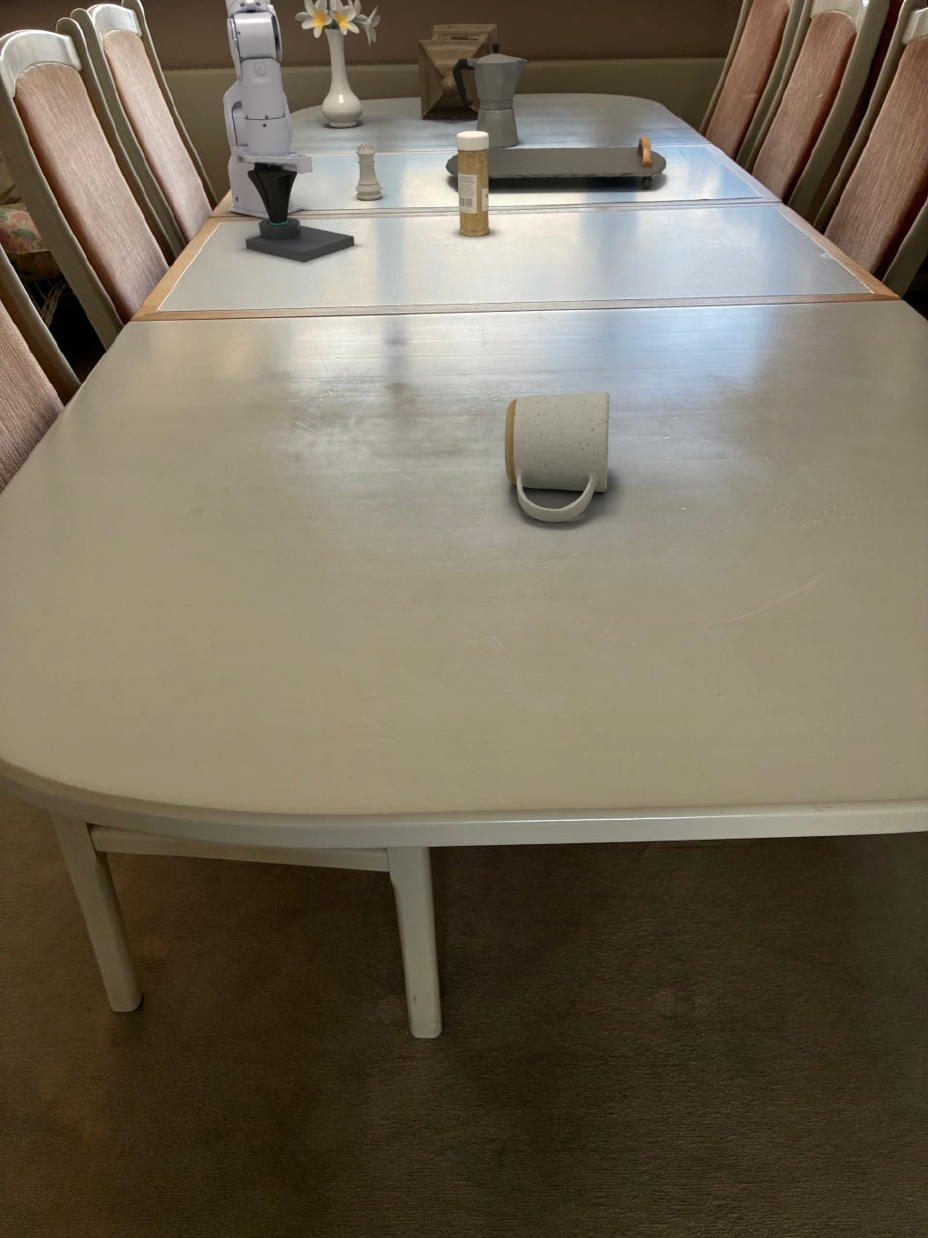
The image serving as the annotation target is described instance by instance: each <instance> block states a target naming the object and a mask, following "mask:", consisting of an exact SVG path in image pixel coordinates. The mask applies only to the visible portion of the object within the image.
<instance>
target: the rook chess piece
mask: <svg viewBox="0 0 928 1238" xmlns="http://www.w3.org/2000/svg"><path fill="white" fill-rule="evenodd" d="M355 154H356V155H357V156H358V161H357V163H358V165H359V178H358V182H357V185H356V187H355V190H356V192H357V193H356V194H355V196H356V197H357V199H358V200H360V201H376V200H378V199H381V197H382V196H383V193H382V192H381V191H382V186H381V185H380V183H379V180H378V179H377V175H376V170H375V162H376V161H375V159H374V156H375V154H376V150H375V149H374V145H373V144H368V143H365V146H364V144H359V145H357V149H356V151H355Z"/></svg>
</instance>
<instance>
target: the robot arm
mask: <svg viewBox="0 0 928 1238" xmlns="http://www.w3.org/2000/svg"><path fill="white" fill-rule="evenodd" d="M225 6H226V11H227V17H228V18H226V27H227V35H228V43H229V48H230V53H231V55H230V56H231V58H232V60H233V65H234V68H235V74H236V78H237V79H236V81H235V82H234V83H233V84H232V85H231V86H230V87H229V88H228V89H227V90H226V91H225V93H224V94H223V98H222V104H223V113H224V115H223V116H224V122H225V123H224V124H225V128H226V134H227V140H228V146H229V148H230V154H231V156H230V158H229V160H228V164H227V172H228V179H229V186H230V193H231V199H232V205H233V207H230V208H229V212H232V213H236V214H241V215H246V216H250V217H251V216H252V217H256V218H261V219H264V220H266V219H270V221H271V223H276V224H278V223H281V222H285V221H287V217H289V215H288V214H291V213H294V212H298V211H302V210H304V209H305V207H304V205H300V204H295V203H292V197H291V196H292V195H291V193H292V189H293V186H294V183H295V181H296V178H297V176H298V174H300V175H304V174H308V173H312V172H313V162H312V156H311V155H306V154H303V153H300V152H298V151H295V150H292V149H291V146H292V144H293V141H294V137H293V127H292V119H291V114H290V109H289V104H288V99H287V95H286V93H285V92H284V85H283V77H282V69H281V63H282V61H283V60H282V59H283V43H282V35H281V33H282V32H281V28H280V23H279V20H278V16H277V13H276V10H275V8H274V4H271V0H225ZM277 55H278V59H279V62H278V61H277ZM280 62H281V63H280ZM236 104H241V105H236Z"/></svg>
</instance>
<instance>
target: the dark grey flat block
mask: <svg viewBox="0 0 928 1238" xmlns="http://www.w3.org/2000/svg"><path fill="white" fill-rule="evenodd" d="M287 220H288V221H289V223H288V224H285V225H269V222H270V219H262V220H261V221H260V222H258V229H259V235H256V236H252V237H249V238H246V239H245V247H246V250H249V251H254V252H258V253H261V254H267V255H271V256H275V257H279V258H284V259H288V260H293V261H296V262H301V263H307V262H310V261H313V260H317V259H319V258H322V257H325V256H328V255H331V254H335V253H337V252H339V251H343V250H346V249H349V248H352V247H355V244H356V243H355V236H354V235H350V234H345V233H339V232H334V231H329V230H325V229H320V228H316V227H311V226H305V225H301V222H300V220H299V219H298V218H296V217H291V216H287Z"/></svg>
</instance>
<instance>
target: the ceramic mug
mask: <svg viewBox="0 0 928 1238" xmlns="http://www.w3.org/2000/svg"><path fill="white" fill-rule="evenodd" d="M609 410H610V394H609V393H608V392H607V391H595V392H583V393H582V392H580V393H564V394H562V393H560V394H538V395H536V394H535V395H527V396H523V397H519V398H515V399H513V400H511V402H509V404H508V406H507V409H506V415H505V428H504V463H505V465H504V466H505V474H506V476H507V479H508V481H509V482H510V483H511V484H512V485H515V486H516V493H517V498H518V502H519V504H520V506H521V509H522V510H523V511H524V513H526V514H527V515H528V516H530V517H532V518H533V519H536V520H538V521H542V522H545V523H563V522H568V521H570V520H573V519H575V518H576V517H578V516H580V515H582V513H583V512H584V511H585V510H586V508H587V507H588V506H589V503H590V501H592V497H593V495H594V493H603V492H606V491H607V486H608V463H609V424H610V423H609V417H610V416H609V415H610V413H609V412H610V411H609ZM524 488H527V489H543V490H544V489H545V490H549V489H550V490H562V491H563V490H564V491H574V492H575V491H577V492H583V493H582V494H581V495H580V496H579V497H578V498H577V499H575V501H573V502H570V504H568V505H566V506H563V507H561V508H548V507H547V508H546V507H542V506H540V505H538V504H535V503H534V502H533V501H531V500H529V499H528V497H527V496H526V494H525V492H524V490H523V489H524Z"/></svg>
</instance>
